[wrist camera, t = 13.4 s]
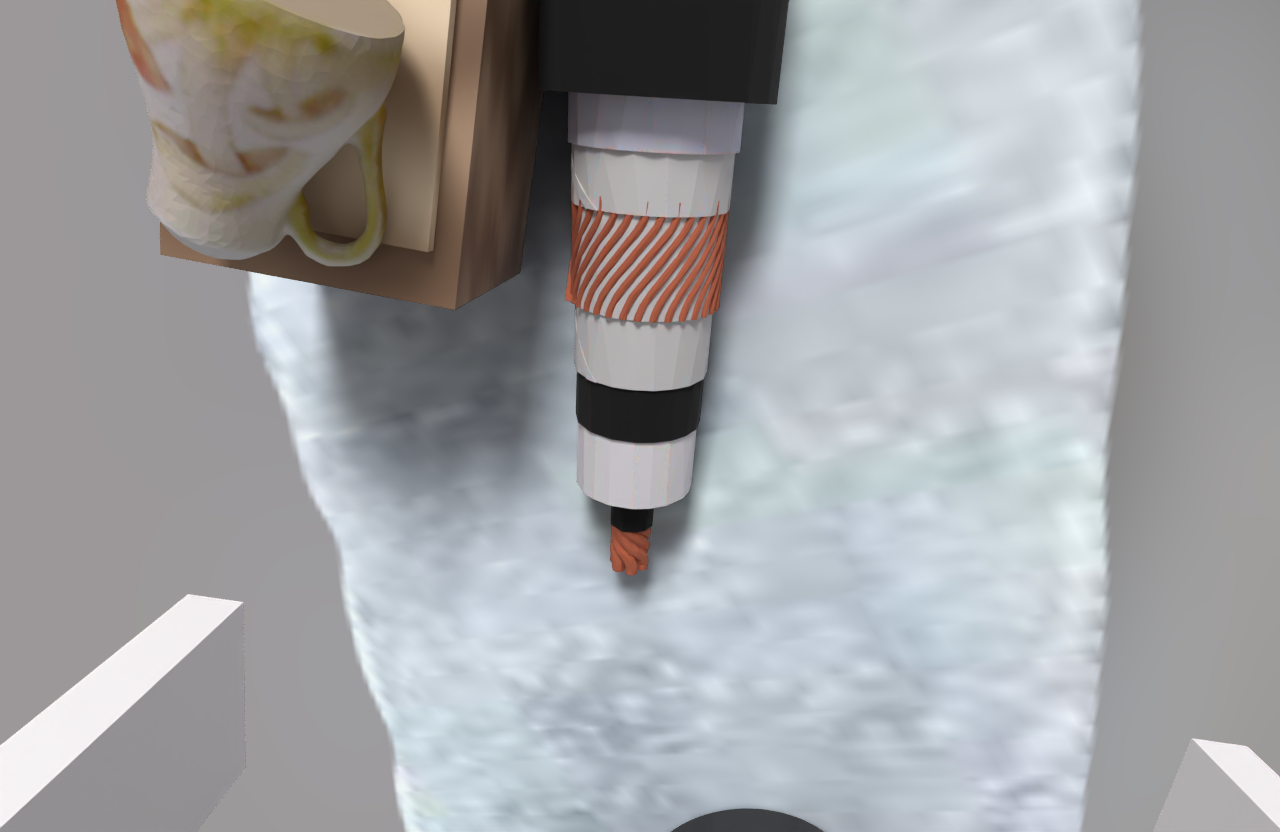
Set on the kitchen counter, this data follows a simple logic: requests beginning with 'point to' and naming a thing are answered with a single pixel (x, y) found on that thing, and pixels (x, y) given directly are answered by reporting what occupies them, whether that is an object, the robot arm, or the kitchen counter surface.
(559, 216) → the kitchen counter surface
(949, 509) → the kitchen counter surface
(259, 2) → the mug
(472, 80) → the plate
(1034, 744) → the kitchen counter surface
